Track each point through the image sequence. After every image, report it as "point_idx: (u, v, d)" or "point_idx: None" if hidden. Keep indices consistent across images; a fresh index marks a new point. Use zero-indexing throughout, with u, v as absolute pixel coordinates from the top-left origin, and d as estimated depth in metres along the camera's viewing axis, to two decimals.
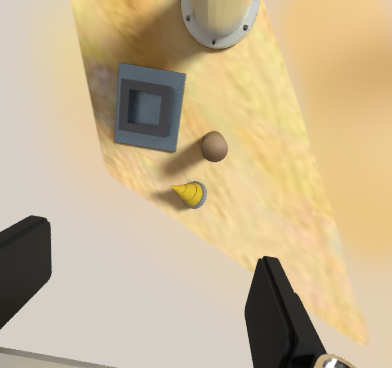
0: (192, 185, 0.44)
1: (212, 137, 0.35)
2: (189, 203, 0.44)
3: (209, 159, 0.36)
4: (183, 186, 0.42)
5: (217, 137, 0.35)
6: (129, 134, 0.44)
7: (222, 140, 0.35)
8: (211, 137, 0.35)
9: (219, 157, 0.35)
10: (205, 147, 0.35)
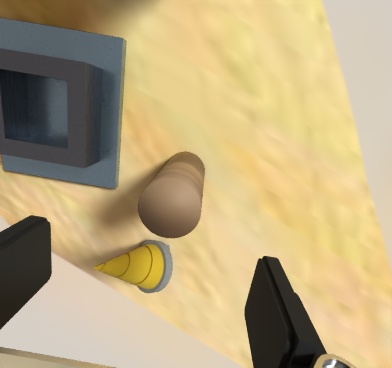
0: (144, 254, 0.23)
1: (162, 183, 0.14)
2: (139, 286, 0.24)
3: (158, 232, 0.15)
4: (123, 261, 0.22)
5: (174, 183, 0.14)
6: None
7: (187, 191, 0.14)
8: (160, 183, 0.14)
9: (181, 228, 0.15)
10: (147, 206, 0.15)
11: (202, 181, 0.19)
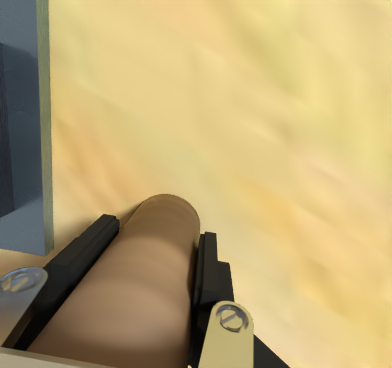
0: None
1: None
2: None
3: None
4: None
5: None
6: None
7: None
8: None
9: None
10: None
11: (192, 280, 0.08)
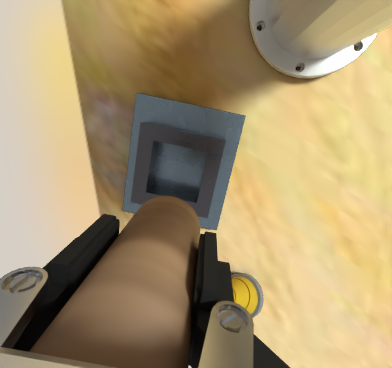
0: (243, 287, 0.28)
1: None
2: None
3: None
4: None
5: None
6: None
7: None
8: None
9: None
10: None
11: (192, 282, 0.09)
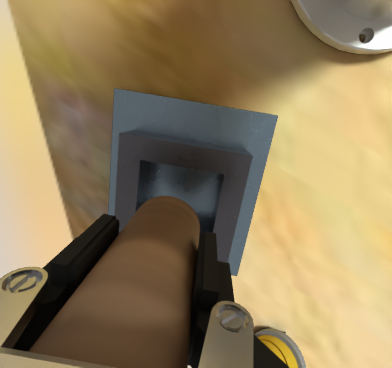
0: None
1: None
2: None
3: None
4: None
5: None
6: None
7: None
8: None
9: None
10: None
11: (192, 282, 0.09)
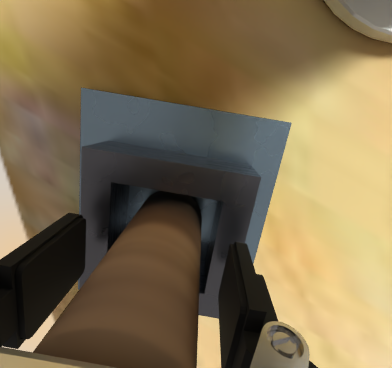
0: None
1: (83, 338, 0.05)
2: None
3: None
4: None
5: (118, 338, 0.05)
6: None
7: (155, 356, 0.05)
8: (76, 338, 0.05)
9: None
10: None
11: (198, 261, 0.10)
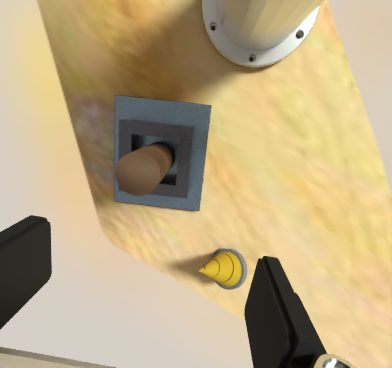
0: (227, 259, 0.31)
1: (130, 155, 0.20)
2: (223, 284, 0.31)
3: (131, 192, 0.21)
4: (215, 265, 0.29)
5: (138, 155, 0.20)
6: None
7: (148, 159, 0.20)
8: (128, 155, 0.20)
9: (146, 187, 0.21)
10: (121, 173, 0.21)
11: (166, 159, 0.25)
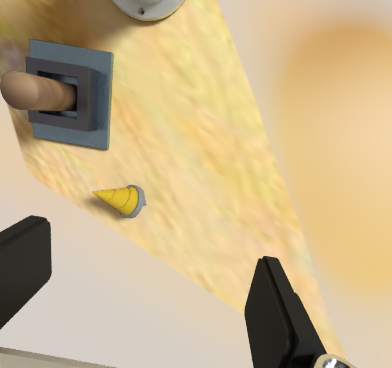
0: (125, 190, 0.36)
1: (11, 73, 0.25)
2: (122, 212, 0.36)
3: (14, 105, 0.26)
4: (111, 191, 0.34)
5: (17, 73, 0.25)
6: (50, 127, 0.37)
7: (25, 77, 0.25)
8: (9, 73, 0.25)
9: (26, 102, 0.26)
10: (5, 88, 0.25)
11: (60, 90, 0.30)
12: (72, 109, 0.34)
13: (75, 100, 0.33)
